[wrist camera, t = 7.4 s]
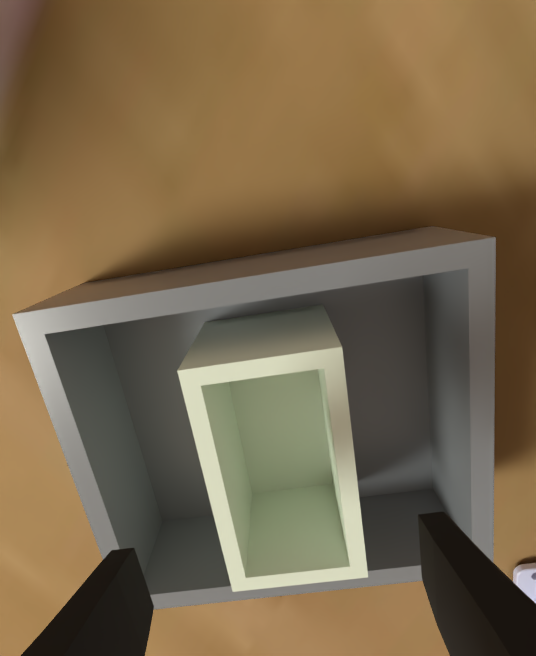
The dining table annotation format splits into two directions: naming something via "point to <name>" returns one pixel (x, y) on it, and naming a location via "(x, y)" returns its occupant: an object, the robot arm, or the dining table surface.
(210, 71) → the dining table surface
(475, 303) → the charcoal crate
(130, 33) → the dining table surface
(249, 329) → the sage crate
